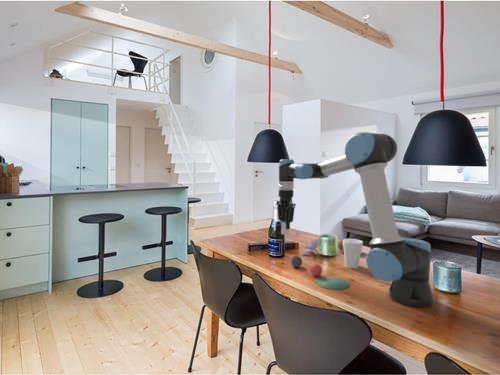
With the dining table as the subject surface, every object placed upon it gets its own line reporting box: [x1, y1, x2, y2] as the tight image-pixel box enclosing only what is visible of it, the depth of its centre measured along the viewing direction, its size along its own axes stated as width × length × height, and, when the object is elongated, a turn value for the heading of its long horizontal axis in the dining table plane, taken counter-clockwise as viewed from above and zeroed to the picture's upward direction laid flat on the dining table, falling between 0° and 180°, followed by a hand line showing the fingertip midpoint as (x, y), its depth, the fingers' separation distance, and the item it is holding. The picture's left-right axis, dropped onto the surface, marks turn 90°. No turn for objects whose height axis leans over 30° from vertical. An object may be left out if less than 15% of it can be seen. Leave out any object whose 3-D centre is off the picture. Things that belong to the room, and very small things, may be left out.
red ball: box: [309, 263, 323, 277], centre depth 141 cm, size 6×6×6 cm
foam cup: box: [342, 238, 364, 269], centre depth 154 cm, size 10×9×13 cm
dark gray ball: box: [290, 255, 303, 268], centre depth 153 cm, size 6×6×6 cm
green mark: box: [315, 276, 350, 291], centre depth 133 cm, size 14×14×1 cm
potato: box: [337, 239, 344, 253], centre depth 179 cm, size 10×14×8 cm
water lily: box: [303, 236, 322, 257], centre depth 174 cm, size 15×15×9 cm
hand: (285, 234), depth 160 cm, fingers open, 2 cm apart
